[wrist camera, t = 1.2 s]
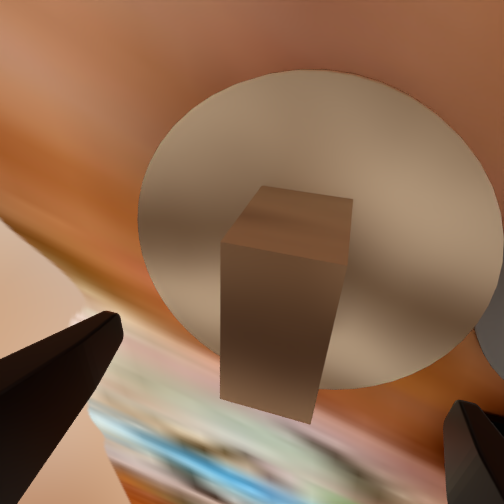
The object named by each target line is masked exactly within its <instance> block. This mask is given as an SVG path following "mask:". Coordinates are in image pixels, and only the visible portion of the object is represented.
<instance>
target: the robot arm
mask: <svg viewBox="0 0 504 504" xmlns="http://www.w3.org/2000/svg"><path fill="white" fill-rule="evenodd" d="M122 340H123V328H122V323H121V318H120V315H119V314H117V313H114V312H110V311H103V312H101V313H99V314H96V315H94V316H92V317H90V318H88V319H86V320H83V321H81V322H79V323H77V324H75V325H73V326H71V327H68V328H66V329H64V330H62V331H60V332H58V333H55V334H53V335H51V336H49V337H47V338H45V339H43V340H40V341H38V342H36V343H34V344H32V345H30V346H27V347H25V348H23V349H21V350H19V351H17V352H14V353H12V354H10V355H8V356H6V357H4V358H2V359H0V504H17V503H18V501H19V500H20V499H21V497H22V496H23V494H24V493H25V491H26V490H27V489H28V487H29V486H30V484H31V483H32V481H33V480H34V478H35V477H36V475H37V474H38V472H39V471H40V470H41V468H42V467H43V465H44V463H45V462H46V461H47V459H48V458H49V457H50V455H51V453H52V452H53V451H54V449H55V448H56V446H57V445H58V443H59V442H60V441H61V439H62V438H63V436H64V435H65V433H66V432H67V430H68V429H69V427H70V426H71V425H72V423H73V422H74V420H75V419H76V417H77V416H78V414H79V413H80V411H81V410H82V408H83V407H84V406H85V404H86V403H87V401H88V400H89V398H90V397H91V395H92V394H93V392H94V391H95V389H96V388H97V386H98V384H99V383H100V381H101V379H102V377H103V375H104V374H105V372H106V370H107V368H108V366H109V364H110V363H111V361H112V359H113V357H114V355H115V354H116V352H117V350H118V348H119V346H120V344H121V343H122ZM443 436H444V455H445V464H444V466H445V475H446V492H447V501H448V504H504V419H503V418H499V417H495V416H491V415H487V414H485V413H484V412H483V411H482V410H481V408H480V407H479V406H478V405H476V404H475V403H471V402H467V401H463V400H457V401H455V402H454V404H453V406H452V408H451V409H450V411H449V413H448V415H447V416H446V418H445V421H444V425H443Z"/></svg>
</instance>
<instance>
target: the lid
mask: <svg viewBox="0 0 504 504" xmlns="http://www.w3.org/2000/svg"><path fill="white" fill-rule="evenodd" d="M138 232H139V240H140V245H141V250H142V255H143V258H144V261H145V264H146V267H147V270H148V273H149V275H150V277H151V279H152V281H153V284H154V286H155V288H156V290H157V291H158V293H159V294H160V296H161V298H162V299H163V301H164V303H165V304H166V305H167V307H168V308H169V309H170V311H171V312H172V313H173V315H174V316H175V317H176V318H177V320H178V321H179V322H180V323H181V324H182V325H183V326H184V327H185V328H186V329H187V330H188V331H189V332H190V333H191V334H192V335H193V336H194V337H195V338H196V339H198V340H199V341H200V342H201V343H202V344H204V345H205V346H206V347H208V348H209V349H210V350H212V351H213V352H214V353H216V354H218V355H219V356H220V399H223V400H227V401H230V402H234V403H237V404H241V405H244V406H248V407H251V408H255V409H258V410H262V411H265V412H268V413H272V414H275V415H279V416H282V417H286V418H289V419H293V420H296V421H300V422H303V423H307V424H311V420H312V415H313V411H314V407H315V403H316V398H317V394H318V390H319V389H332V390H337V389H356V388H363V387H370V386H375V385H379V384H383V383H387V382H392V381H395V380H397V379H400V378H403V377H406V376H408V375H411V374H413V373H415V372H417V371H419V370H421V369H423V368H425V367H427V366H429V365H431V364H432V363H434V362H435V361H437V360H438V359H440V358H442V357H443V356H445V355H446V354H447V353H449V352H450V351H451V350H452V349H453V348H454V347H455V346H457V345H458V344H459V343H460V342H461V341H462V340H463V339H464V338H465V337H466V336H467V335H468V334H469V332H470V331H471V330H472V329H473V328H474V327H475V326H476V324H477V323H478V321H479V320H480V318H481V317H482V315H483V313H484V312H485V310H486V309H487V307H488V305H489V303H490V301H491V298H492V296H493V294H494V291H495V289H496V287H497V284H498V279H499V275H500V271H501V267H502V263H503V246H504V235H503V227H502V218H501V212H500V209H499V205H498V202H497V199H496V196H495V193H494V189H493V187H492V185H491V183H490V181H489V179H488V177H487V175H486V173H485V171H484V169H483V167H482V165H481V163H480V162H479V160H478V159H477V158H476V156H475V155H474V154H473V152H472V151H471V150H470V149H469V147H468V146H467V145H466V143H465V142H464V141H463V139H462V138H461V137H460V136H459V135H458V134H457V133H456V132H455V131H454V130H453V129H452V128H451V127H450V126H449V125H448V124H447V123H445V122H444V121H443V120H442V119H441V118H440V117H439V116H438V115H437V114H436V113H435V112H434V111H432V110H431V109H430V108H428V107H427V106H425V105H424V104H422V103H421V102H419V101H418V100H416V99H415V98H413V97H412V96H411V95H409V94H407V93H405V92H402V91H400V90H398V89H396V88H394V87H392V86H390V85H388V84H386V83H384V82H381V81H377V80H374V79H371V78H368V77H364V76H361V75H358V74H354V73H347V72H340V71H334V70H327V69H297V70H290V71H283V72H277V73H270V74H267V75H264V76H260V77H257V78H254V79H250V80H247V81H244V82H241V83H238V84H235V85H233V86H231V87H229V88H227V89H224V90H222V91H220V92H218V93H216V94H214V95H212V96H210V97H209V98H207V99H206V100H204V101H203V102H202V103H200V104H199V105H197V106H196V107H194V108H193V109H191V110H190V111H189V112H188V113H187V114H186V115H185V116H184V117H183V118H182V119H181V120H179V121H178V122H177V123H176V124H175V125H174V126H173V128H172V129H171V130H170V131H169V133H168V134H167V135H166V137H165V138H164V139H163V140H162V142H161V143H160V145H159V146H158V148H157V150H156V152H155V154H154V155H153V157H152V159H151V161H150V163H149V166H148V168H147V171H146V174H145V176H144V179H143V182H142V187H141V192H140V197H139V205H138Z"/></svg>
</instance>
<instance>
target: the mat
mask: <svg viewBox="0 0 504 504" xmlns="http://www.w3.org/2000/svg"><path fill="white" fill-rule="evenodd" d="M474 330H475V333H476V335H477V338H478V341H479V343H480V346H481V348H482V351H483V353H484V355H485V357H486V358H487V360H488V362H489V363H490V365H491V366H492V368H493V369H494V370H495V371H496V372H497V373H498V374H499V376H500V377H501V378H502V379H504V246H503V263H502V267H501V271H500V275H499V279H498V284H497V287H496V289H495V291H494V294H493V296H492V298H491V301H490V303H489V305H488V307H487V309H486V310H485V312H484V313H483V315H482V317H481V318H480V320H479V321H478V323H477V324H476V326H475V327H474Z"/></svg>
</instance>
